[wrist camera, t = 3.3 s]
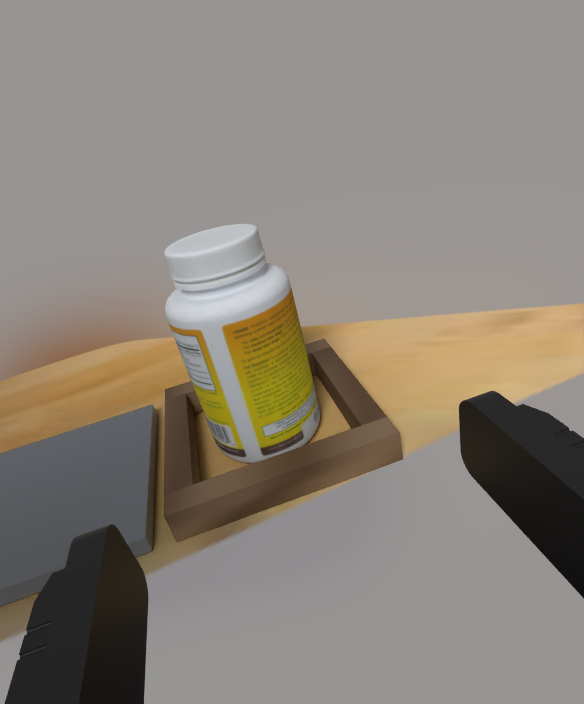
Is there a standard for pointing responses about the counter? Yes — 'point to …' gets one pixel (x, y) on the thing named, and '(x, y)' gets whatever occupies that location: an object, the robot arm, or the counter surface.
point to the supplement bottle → (241, 343)
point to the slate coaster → (75, 496)
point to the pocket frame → (278, 471)
